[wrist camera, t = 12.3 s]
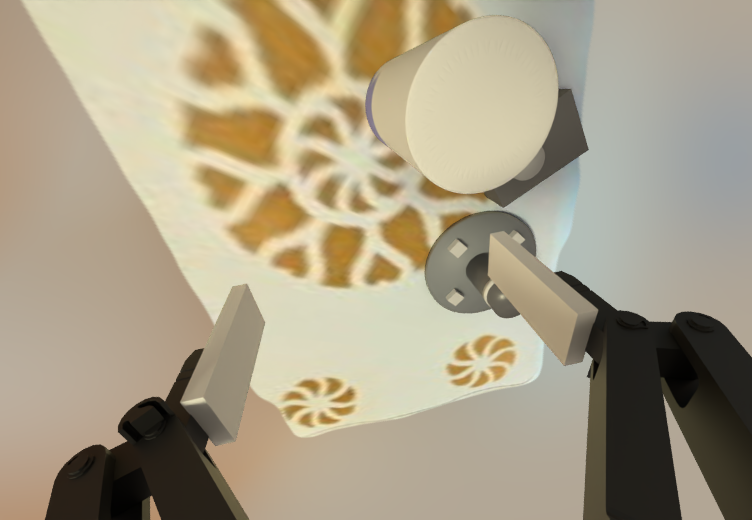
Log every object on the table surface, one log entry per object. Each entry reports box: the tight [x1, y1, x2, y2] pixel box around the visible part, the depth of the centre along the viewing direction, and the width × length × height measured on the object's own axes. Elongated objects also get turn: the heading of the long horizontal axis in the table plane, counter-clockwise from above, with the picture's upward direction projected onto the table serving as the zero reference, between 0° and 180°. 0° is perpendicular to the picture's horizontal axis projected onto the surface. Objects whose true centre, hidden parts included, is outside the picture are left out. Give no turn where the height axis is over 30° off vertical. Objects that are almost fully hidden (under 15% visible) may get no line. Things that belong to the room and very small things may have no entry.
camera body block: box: [484, 89, 588, 208], centre depth 38 cm, size 12×8×6 cm, turn 125°
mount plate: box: [425, 211, 536, 313], centre depth 48 cm, size 18×18×2 cm
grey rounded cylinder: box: [466, 253, 520, 318], centre depth 44 cm, size 6×6×9 cm
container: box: [366, 15, 558, 194], centre depth 27 cm, size 10×10×20 cm
